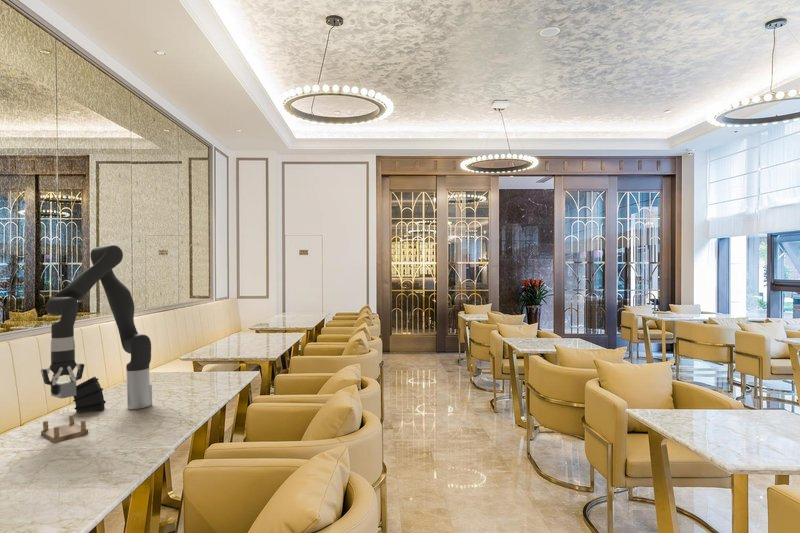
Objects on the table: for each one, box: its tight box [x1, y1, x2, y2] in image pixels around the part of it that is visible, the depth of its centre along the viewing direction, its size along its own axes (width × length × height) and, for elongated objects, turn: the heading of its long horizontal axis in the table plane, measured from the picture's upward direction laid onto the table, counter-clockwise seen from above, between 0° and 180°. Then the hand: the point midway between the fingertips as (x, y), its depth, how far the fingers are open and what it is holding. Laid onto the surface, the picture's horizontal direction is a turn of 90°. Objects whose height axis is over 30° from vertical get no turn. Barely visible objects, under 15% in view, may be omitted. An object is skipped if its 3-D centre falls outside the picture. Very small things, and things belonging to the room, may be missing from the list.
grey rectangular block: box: [50, 379, 77, 399], centre depth 180 cm, size 5×9×5 cm, turn 57°
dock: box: [40, 414, 89, 443], centre depth 180 cm, size 11×15×5 cm
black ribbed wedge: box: [72, 376, 106, 413], centre depth 211 cm, size 4×13×15 cm, turn 98°
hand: (63, 392), depth 180 cm, fingers closed on grey rectangular block, 5 cm apart
